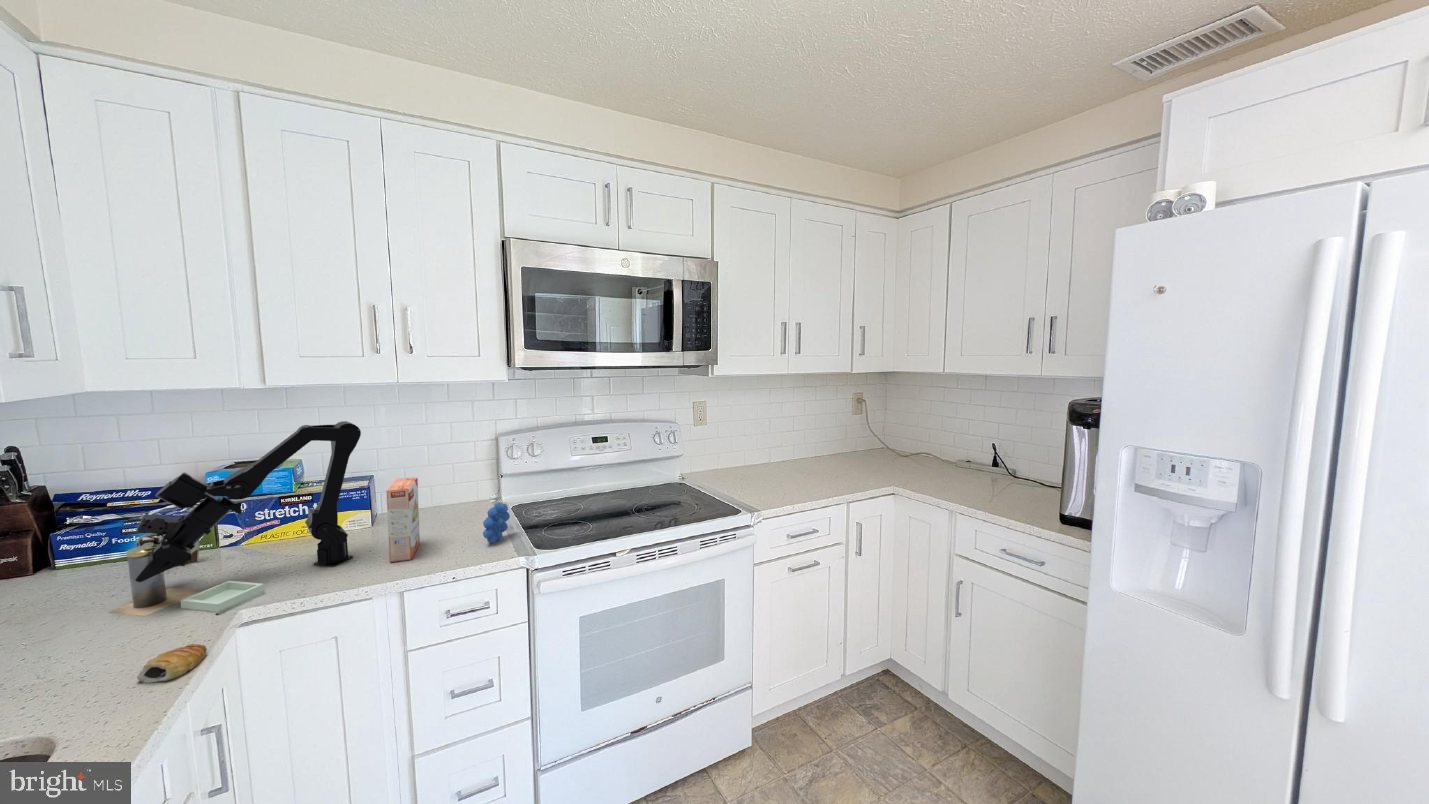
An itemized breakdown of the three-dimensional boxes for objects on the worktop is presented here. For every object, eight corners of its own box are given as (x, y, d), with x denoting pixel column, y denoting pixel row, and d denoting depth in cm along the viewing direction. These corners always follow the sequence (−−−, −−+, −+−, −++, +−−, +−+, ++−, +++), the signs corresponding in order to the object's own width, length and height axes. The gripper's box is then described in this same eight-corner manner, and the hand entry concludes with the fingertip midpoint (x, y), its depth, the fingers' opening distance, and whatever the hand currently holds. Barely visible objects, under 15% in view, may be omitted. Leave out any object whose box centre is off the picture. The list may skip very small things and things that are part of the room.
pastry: (181, 654, 99) (179, 635, 99) (220, 652, 100) (218, 634, 99) (133, 685, 90) (131, 665, 89) (175, 683, 91) (173, 663, 90)
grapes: (496, 533, 164) (495, 497, 163) (515, 534, 163) (514, 498, 162) (472, 546, 153) (471, 508, 152) (492, 548, 152) (490, 509, 151)
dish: (229, 590, 124) (228, 580, 124) (264, 593, 123) (263, 583, 123) (181, 611, 115) (180, 600, 114) (218, 614, 113) (217, 604, 113)
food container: (202, 556, 144) (199, 522, 143) (205, 562, 140) (202, 527, 139) (137, 570, 135) (133, 534, 134) (138, 577, 131) (134, 540, 130)
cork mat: (172, 589, 124) (172, 587, 124) (206, 592, 123) (206, 590, 123) (107, 614, 113) (107, 612, 113) (144, 618, 111) (144, 616, 111)
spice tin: (155, 596, 120) (149, 543, 119) (174, 598, 119) (168, 544, 118) (125, 607, 115) (119, 552, 113) (145, 609, 114) (139, 554, 112)
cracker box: (413, 560, 143) (409, 488, 141) (388, 563, 141) (384, 490, 139) (421, 542, 156) (418, 476, 154) (399, 545, 154) (395, 478, 151)
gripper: (165, 492, 124) (100, 549, 117) (164, 510, 111) (90, 574, 104) (213, 516, 130) (154, 571, 123) (217, 535, 117) (151, 597, 111)
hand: (138, 577), depth 115 cm, fingers closed on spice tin, 5 cm apart
